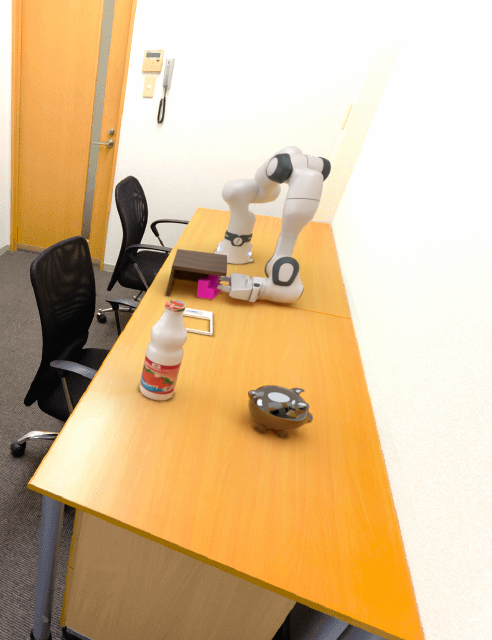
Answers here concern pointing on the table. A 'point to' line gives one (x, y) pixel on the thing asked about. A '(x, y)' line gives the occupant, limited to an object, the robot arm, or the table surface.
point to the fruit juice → (164, 353)
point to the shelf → (196, 266)
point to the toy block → (208, 287)
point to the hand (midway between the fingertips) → (217, 282)
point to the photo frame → (202, 315)
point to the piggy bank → (278, 408)
